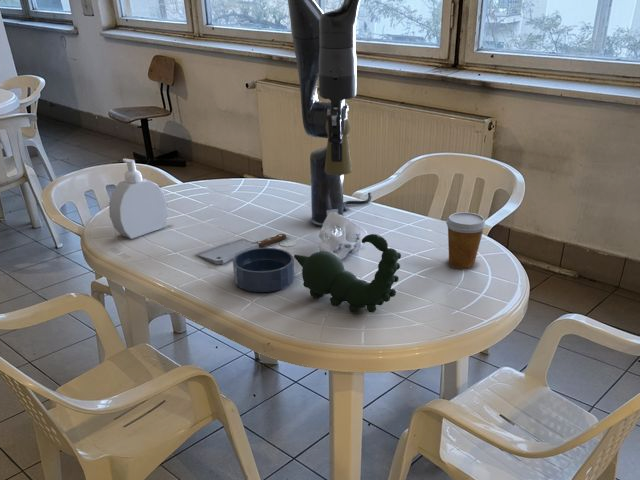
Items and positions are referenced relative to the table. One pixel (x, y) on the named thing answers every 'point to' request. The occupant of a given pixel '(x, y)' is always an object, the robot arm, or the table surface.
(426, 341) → the table surface
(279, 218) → the table surface
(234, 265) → the bowl
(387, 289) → the toy figurine
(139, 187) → the soap bottle
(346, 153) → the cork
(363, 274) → the table surface
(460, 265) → the disposable coffee cup
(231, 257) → the kitchen cleaver
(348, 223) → the skull bowl
